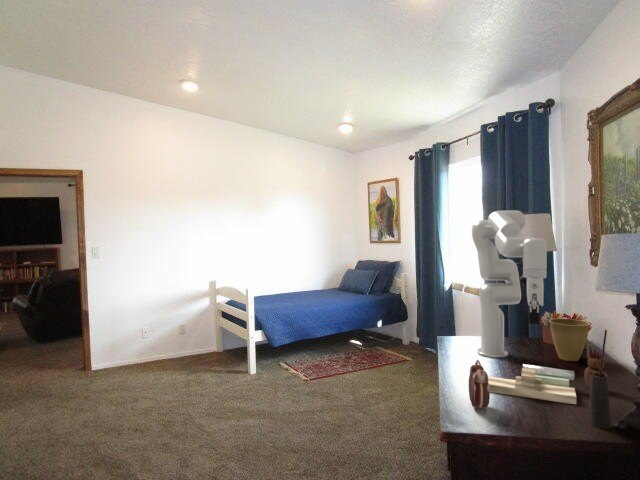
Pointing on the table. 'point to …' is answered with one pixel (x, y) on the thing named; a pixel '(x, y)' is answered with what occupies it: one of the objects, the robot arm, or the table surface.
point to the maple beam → (532, 388)
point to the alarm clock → (479, 386)
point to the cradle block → (553, 380)
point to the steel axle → (551, 371)
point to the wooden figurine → (593, 365)
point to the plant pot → (569, 337)
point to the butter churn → (599, 397)
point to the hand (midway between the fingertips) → (534, 320)
